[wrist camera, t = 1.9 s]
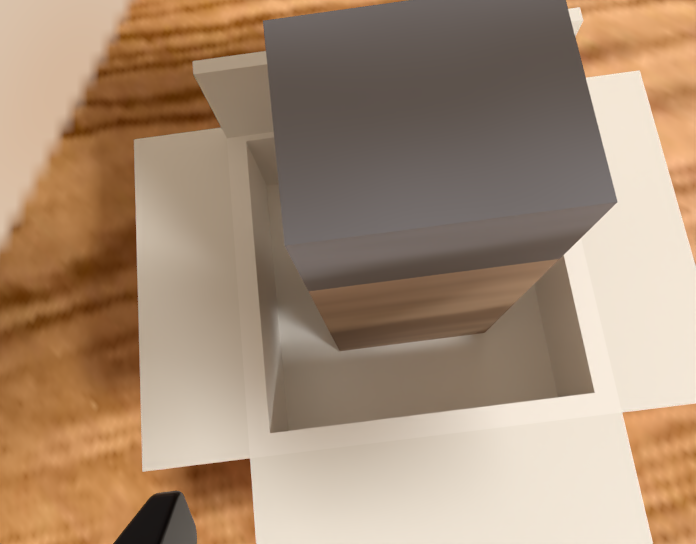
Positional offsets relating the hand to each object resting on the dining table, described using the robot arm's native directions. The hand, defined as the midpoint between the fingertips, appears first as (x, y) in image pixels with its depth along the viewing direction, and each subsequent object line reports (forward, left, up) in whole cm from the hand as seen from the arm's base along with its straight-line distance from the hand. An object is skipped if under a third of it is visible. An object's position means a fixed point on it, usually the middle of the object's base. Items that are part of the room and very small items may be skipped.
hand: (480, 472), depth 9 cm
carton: (+3, +2, -11) cm, 12 cm away
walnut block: (+5, +3, -11) cm, 12 cm away
